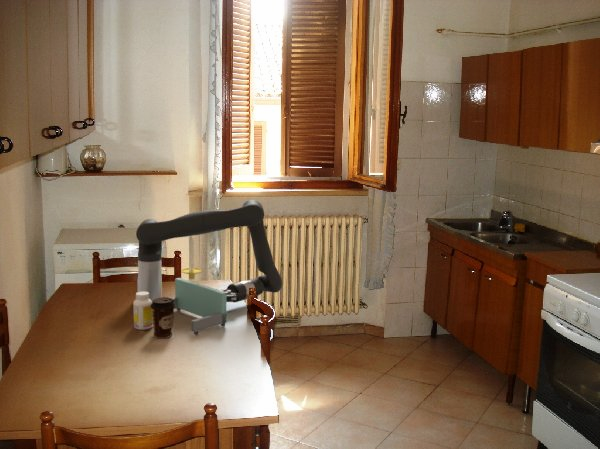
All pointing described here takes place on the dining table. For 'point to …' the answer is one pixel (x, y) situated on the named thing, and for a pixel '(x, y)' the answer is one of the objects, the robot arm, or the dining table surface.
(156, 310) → the coffee cup
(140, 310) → the supplement bottle
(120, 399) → the dining table surface
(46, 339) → the dining table surface
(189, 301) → the teal panel stand
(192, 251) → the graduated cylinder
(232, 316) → the dining table surface
